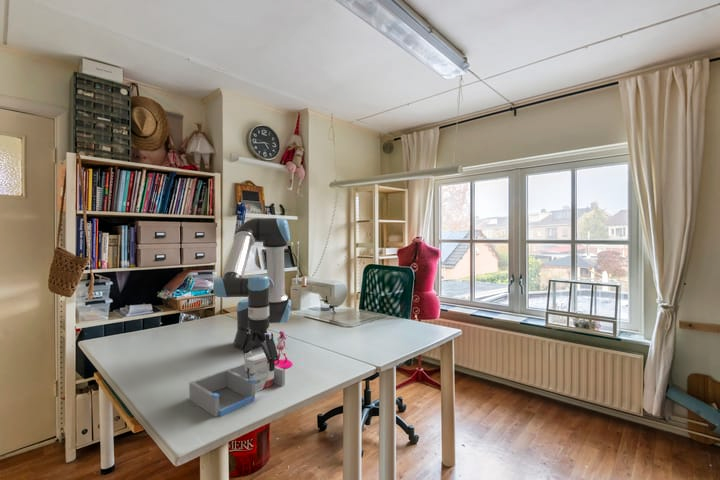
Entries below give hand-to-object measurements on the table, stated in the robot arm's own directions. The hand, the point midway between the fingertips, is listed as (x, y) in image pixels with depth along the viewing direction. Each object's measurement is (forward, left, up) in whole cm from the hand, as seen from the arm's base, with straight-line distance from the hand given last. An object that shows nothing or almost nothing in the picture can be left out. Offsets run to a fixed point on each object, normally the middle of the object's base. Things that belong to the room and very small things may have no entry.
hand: (258, 374), depth 126 cm
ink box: (0, 0, -5) cm, 5 cm away
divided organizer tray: (-2, -6, -5) cm, 9 cm away
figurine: (-10, +19, -5) cm, 22 cm away
